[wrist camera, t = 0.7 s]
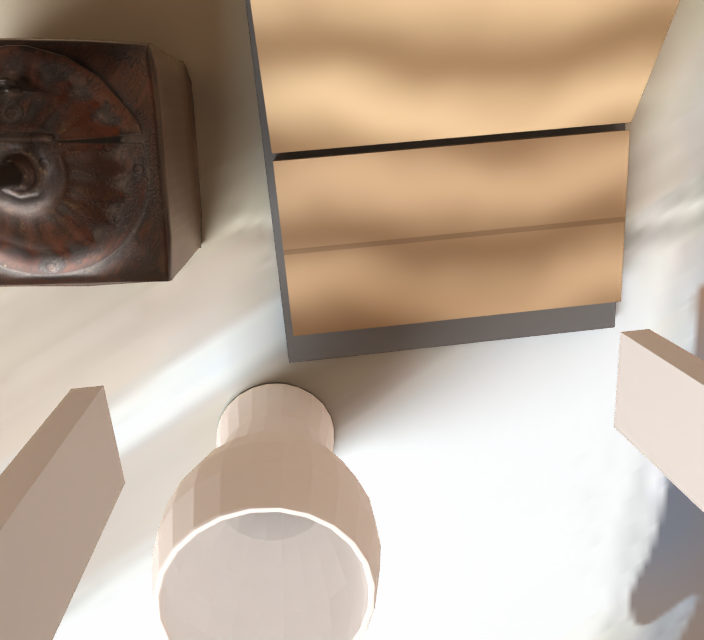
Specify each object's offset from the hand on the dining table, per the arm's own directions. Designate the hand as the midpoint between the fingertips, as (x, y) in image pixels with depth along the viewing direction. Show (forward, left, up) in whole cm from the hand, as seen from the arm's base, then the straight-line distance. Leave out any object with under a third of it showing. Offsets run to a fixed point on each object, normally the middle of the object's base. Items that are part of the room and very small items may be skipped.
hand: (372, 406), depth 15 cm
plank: (-11, +8, -18) cm, 23 cm away
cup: (+12, -4, -23) cm, 26 cm away
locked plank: (0, +7, -22) cm, 23 cm away
